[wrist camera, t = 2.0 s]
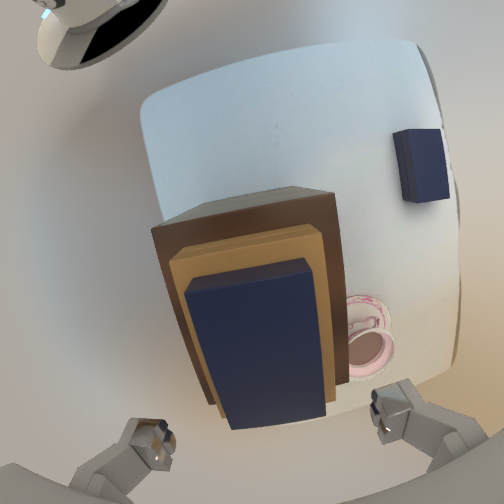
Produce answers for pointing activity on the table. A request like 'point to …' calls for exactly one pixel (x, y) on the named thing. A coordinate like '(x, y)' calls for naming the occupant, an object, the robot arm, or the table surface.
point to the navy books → (422, 165)
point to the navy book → (261, 342)
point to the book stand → (255, 221)
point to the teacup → (368, 337)
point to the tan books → (256, 254)
